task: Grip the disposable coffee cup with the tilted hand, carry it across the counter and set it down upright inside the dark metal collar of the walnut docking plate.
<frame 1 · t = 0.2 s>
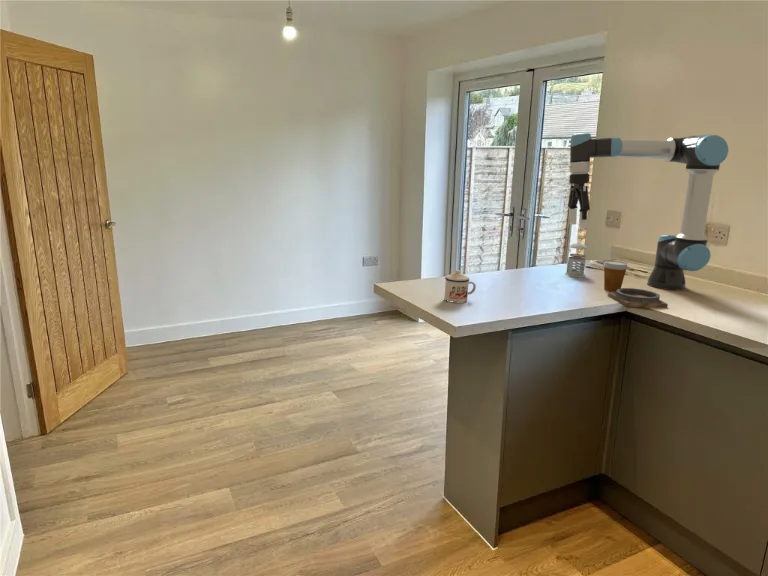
hand: (577, 226, 220), 27 cm above the worktop, tool pointing down, fingers open, 13 cm apart
french press: (573, 275, 258), on the worktop
teacup with lid: (459, 300, 204), on the worktop
disposable coffee cup: (612, 290, 229), on the worktop
docking plate: (636, 301, 211), on the worktop
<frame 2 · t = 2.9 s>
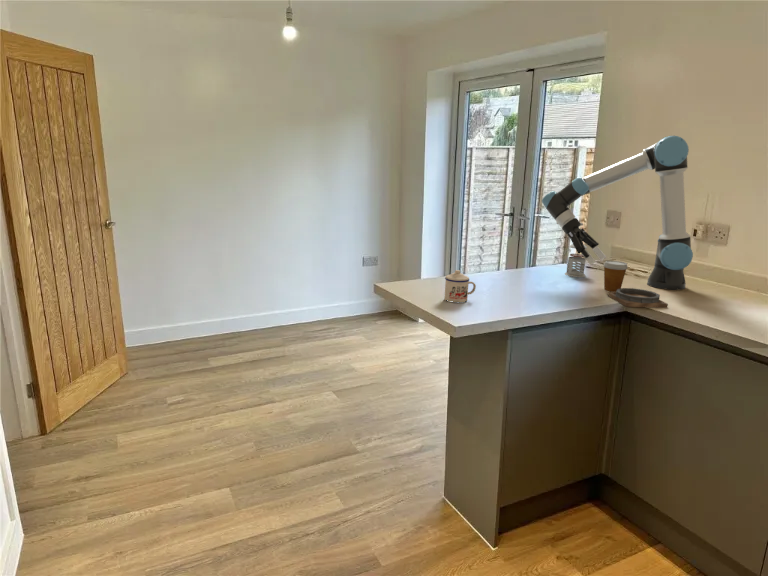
hand: (598, 261, 230), 12 cm above the worktop, tool tilted 45°, fingers open, 13 cm apart
nothing on the worktop moved.
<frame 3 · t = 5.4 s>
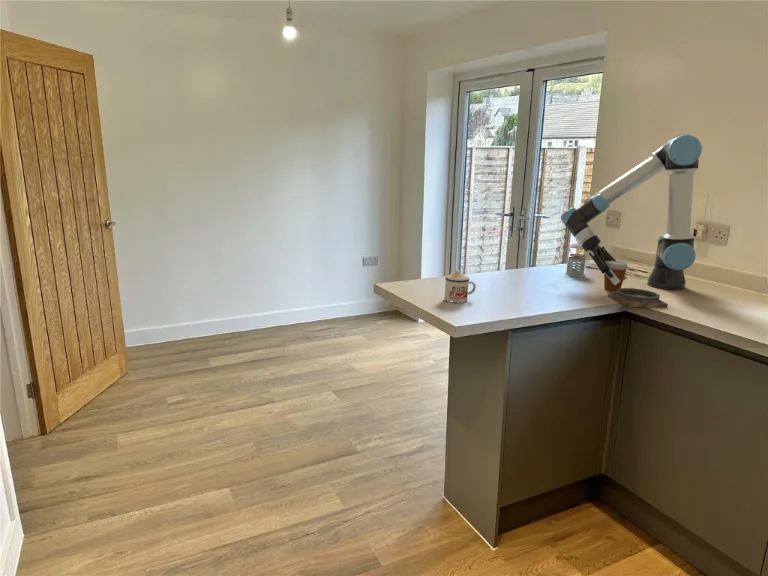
hand: (621, 281, 226), 4 cm above the worktop, tool tilted 45°, fingers closed on disposable coffee cup, 9 cm apart
disposable coffee cup: (612, 290, 229), on the worktop, touching gripper
everything else where it was.
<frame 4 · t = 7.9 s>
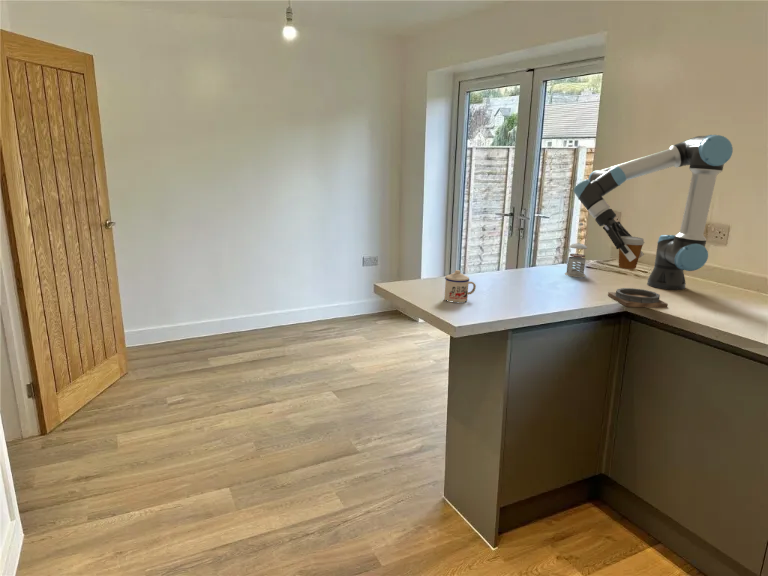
hand: (637, 258, 211), 17 cm above the worktop, tool tilted 45°, fingers closed on disposable coffee cup, 9 cm apart
disposable coffee cup: (626, 268, 215), point 12 cm above the worktop, touching gripper
everything else where it was.
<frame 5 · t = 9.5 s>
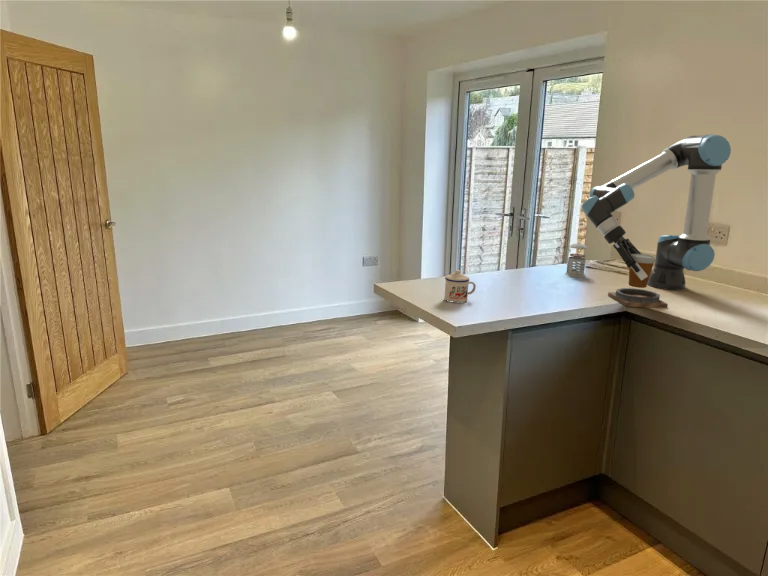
hand: (648, 276, 207), 11 cm above the worktop, tool tilted 45°, fingers closed on disposable coffee cup, 9 cm apart
disposable coffee cup: (637, 286, 210), point 6 cm above the worktop, touching gripper
everything else where it was.
when the fingers open (7 cm above the worktop, at t = 10.6 s): disposable coffee cup drops 1 cm, resting on docking plate.
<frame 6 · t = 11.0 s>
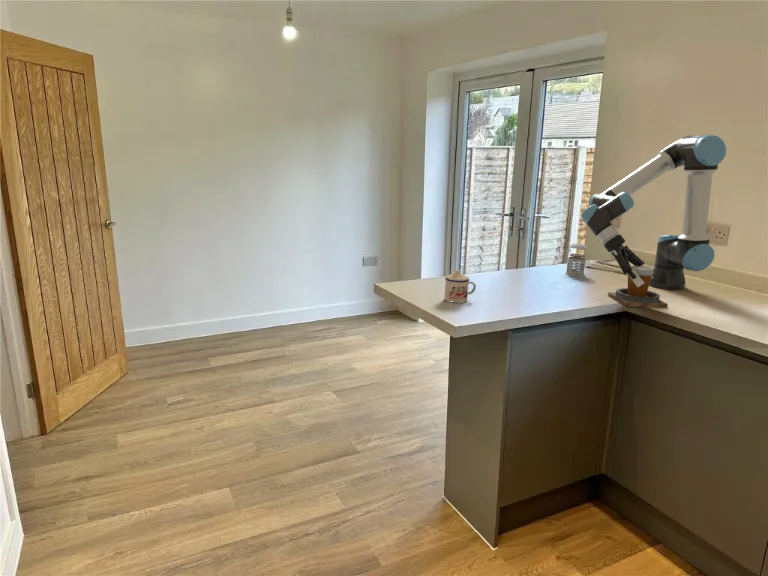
hand: (646, 282, 208), 8 cm above the worktop, tool tilted 45°, fingers open, 13 cm apart
disposable coffee cup: (636, 298, 211), point 1 cm above the worktop, touching docking plate
everything else where it was.
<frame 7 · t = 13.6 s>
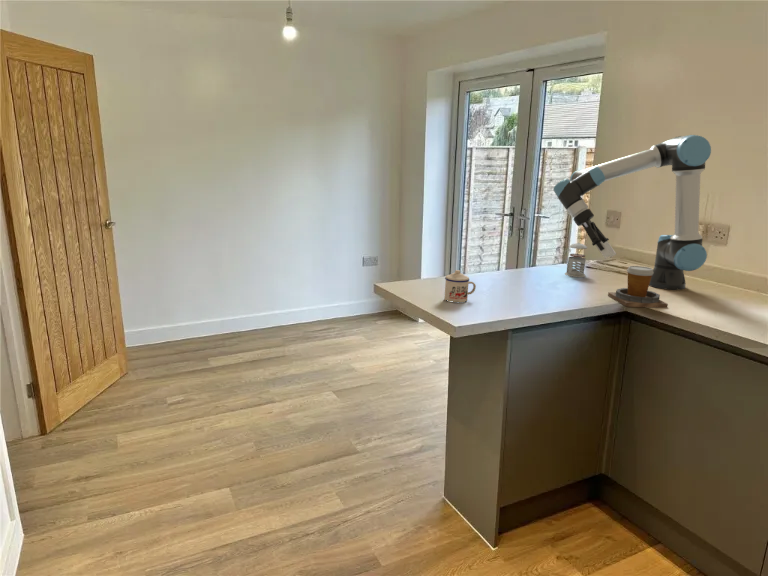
hand: (610, 256, 215), 16 cm above the worktop, tool tilted 40°, fingers open, 13 cm apart
nothing on the worktop moved.
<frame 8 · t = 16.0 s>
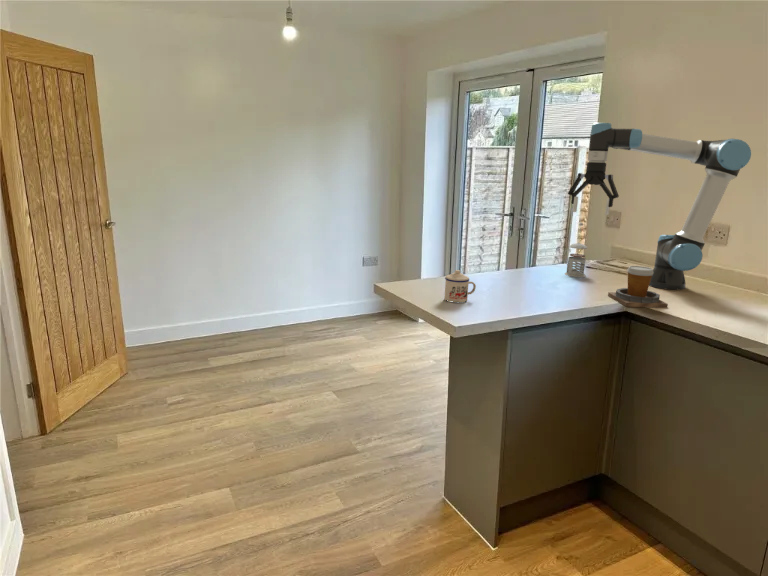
hand: (590, 213, 227), 32 cm above the worktop, tool pointing down, fingers open, 13 cm apart
nothing on the worktop moved.
at the end: disposable coffee cup 0.5 cm off-centre on the docking plate, point 1.3 cm above the docking plate's base; disposable coffee cup tilted 0°; the gripper is holding nothing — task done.
